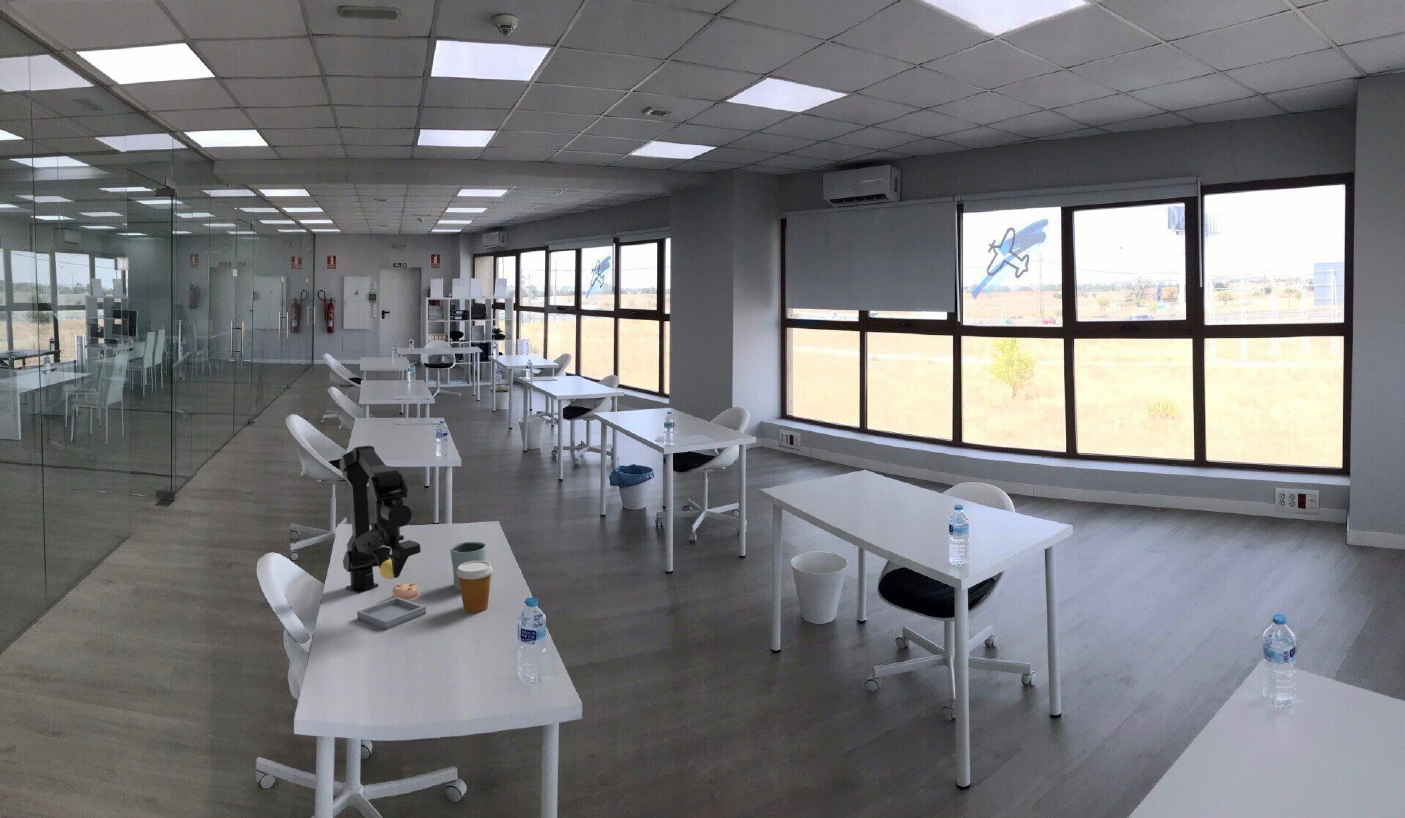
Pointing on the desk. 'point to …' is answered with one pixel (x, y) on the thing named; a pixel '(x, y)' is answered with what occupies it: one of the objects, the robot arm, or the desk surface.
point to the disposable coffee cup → (475, 585)
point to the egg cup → (406, 592)
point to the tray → (391, 613)
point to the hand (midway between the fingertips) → (390, 575)
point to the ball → (387, 569)
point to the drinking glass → (466, 556)
